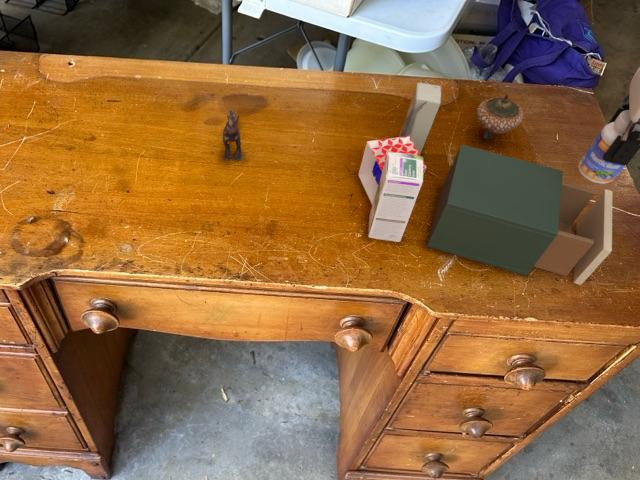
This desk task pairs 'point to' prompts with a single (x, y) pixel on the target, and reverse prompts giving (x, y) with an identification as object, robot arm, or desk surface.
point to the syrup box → (395, 196)
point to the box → (421, 114)
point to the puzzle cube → (381, 160)
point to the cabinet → (497, 210)
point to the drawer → (580, 234)
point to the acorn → (499, 115)
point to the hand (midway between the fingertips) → (614, 146)
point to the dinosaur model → (232, 136)
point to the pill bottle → (593, 158)
